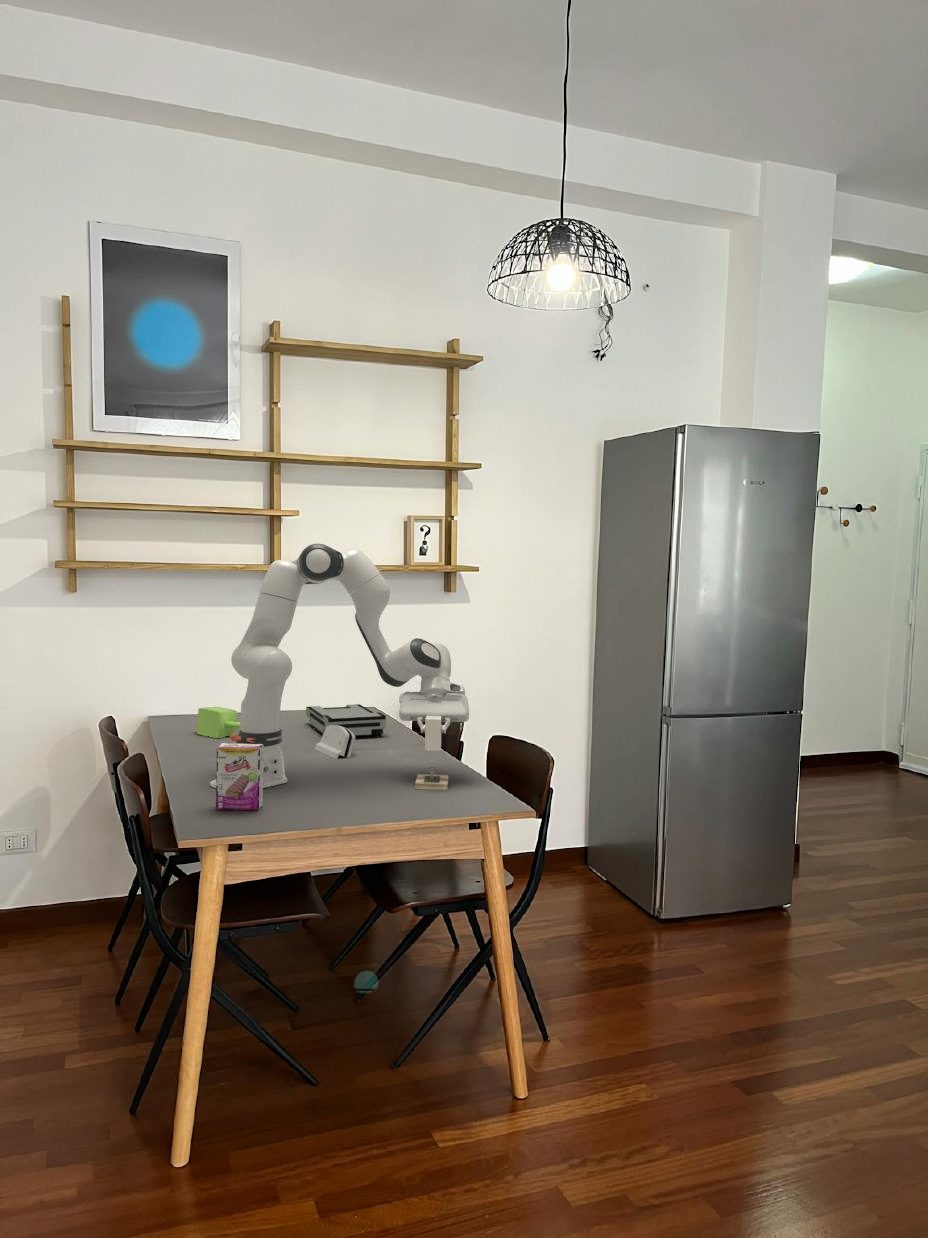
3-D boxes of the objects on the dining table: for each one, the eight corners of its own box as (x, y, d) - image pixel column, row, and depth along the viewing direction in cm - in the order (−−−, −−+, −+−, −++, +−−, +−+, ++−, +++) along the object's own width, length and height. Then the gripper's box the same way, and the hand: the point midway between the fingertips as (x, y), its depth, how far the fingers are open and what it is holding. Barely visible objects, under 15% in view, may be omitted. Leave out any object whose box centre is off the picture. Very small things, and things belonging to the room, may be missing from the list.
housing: (440, 751, 262) (440, 719, 261) (425, 750, 262) (425, 719, 261) (441, 745, 269) (441, 714, 268) (426, 745, 269) (426, 714, 268)
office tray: (359, 722, 358) (359, 701, 357) (385, 738, 329) (385, 715, 328) (305, 725, 350) (306, 703, 349) (327, 742, 320) (328, 718, 320)
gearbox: (248, 737, 326) (250, 711, 326) (227, 741, 318) (229, 713, 317) (212, 730, 336) (213, 704, 335) (191, 733, 327) (192, 706, 327)
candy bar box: (215, 810, 236) (215, 746, 234) (219, 805, 241) (220, 742, 239) (259, 811, 236) (260, 747, 235) (263, 805, 241) (263, 743, 240)
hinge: (314, 749, 308) (323, 720, 310) (326, 752, 311) (335, 723, 312) (336, 759, 295) (346, 729, 296) (349, 762, 297) (358, 732, 298)
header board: (447, 790, 261) (447, 773, 260) (415, 789, 261) (415, 772, 260) (448, 780, 272) (448, 764, 271) (417, 779, 272) (417, 763, 271)
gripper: (399, 685, 271) (396, 725, 262) (469, 686, 271) (468, 726, 262) (400, 698, 276) (397, 737, 267) (469, 699, 276) (468, 738, 267)
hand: (433, 732), depth 264 cm, fingers closed on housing, 4 cm apart
